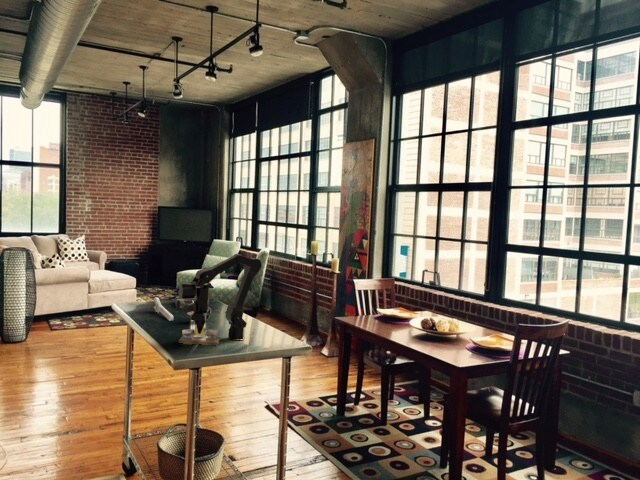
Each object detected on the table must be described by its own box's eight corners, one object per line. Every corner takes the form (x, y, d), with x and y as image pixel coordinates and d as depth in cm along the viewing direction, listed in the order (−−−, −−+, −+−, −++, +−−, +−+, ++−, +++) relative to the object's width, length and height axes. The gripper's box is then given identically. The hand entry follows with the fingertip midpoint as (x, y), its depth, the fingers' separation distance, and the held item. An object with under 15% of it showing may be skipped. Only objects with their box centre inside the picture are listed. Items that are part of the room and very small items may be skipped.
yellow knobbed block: (205, 333, 247) (206, 322, 247) (203, 336, 242) (204, 325, 242) (196, 332, 247) (197, 322, 247) (194, 335, 242) (195, 324, 241)
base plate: (220, 339, 250) (221, 327, 250) (216, 345, 239) (217, 333, 239) (183, 337, 250) (184, 326, 249) (178, 343, 239) (178, 331, 238)
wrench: (169, 326, 284) (152, 309, 309) (173, 326, 285) (155, 309, 310) (170, 311, 283) (153, 296, 307) (174, 311, 284) (156, 296, 308)
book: (198, 303, 342) (199, 295, 342) (202, 311, 318) (203, 302, 318) (174, 303, 337) (175, 295, 337) (177, 310, 314) (177, 302, 313)
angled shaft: (192, 337, 246) (192, 328, 245) (194, 338, 243) (195, 330, 243) (181, 338, 243) (181, 329, 243) (183, 339, 240) (184, 330, 240)
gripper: (188, 293, 252) (186, 326, 253) (179, 300, 234) (178, 336, 235) (212, 295, 253) (210, 328, 254) (205, 301, 234) (203, 337, 235)
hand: (200, 332), depth 244 cm, fingers closed on yellow knobbed block, 5 cm apart
